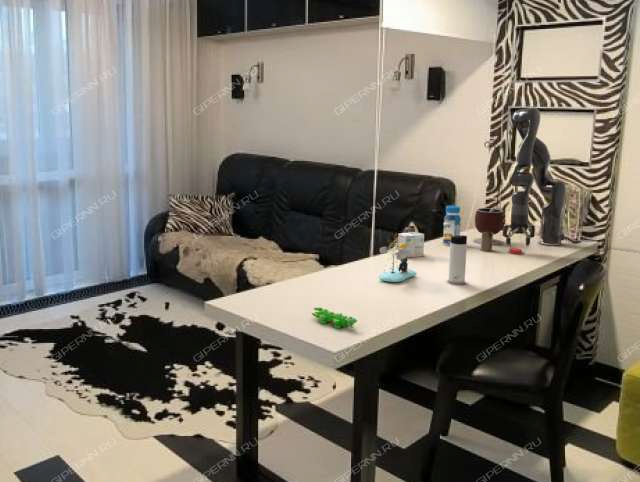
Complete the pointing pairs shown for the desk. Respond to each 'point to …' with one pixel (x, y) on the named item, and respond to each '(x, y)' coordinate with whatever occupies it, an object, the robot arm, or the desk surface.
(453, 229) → the blue labeled canister
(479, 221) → the mate gourd
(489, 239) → the jar
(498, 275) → the desk surface
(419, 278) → the desk surface
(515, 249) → the lid
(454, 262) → the travel mug
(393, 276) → the penguin figurine
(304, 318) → the desk surface
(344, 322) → the crocodile figurine
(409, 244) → the light bulb box
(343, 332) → the desk surface
